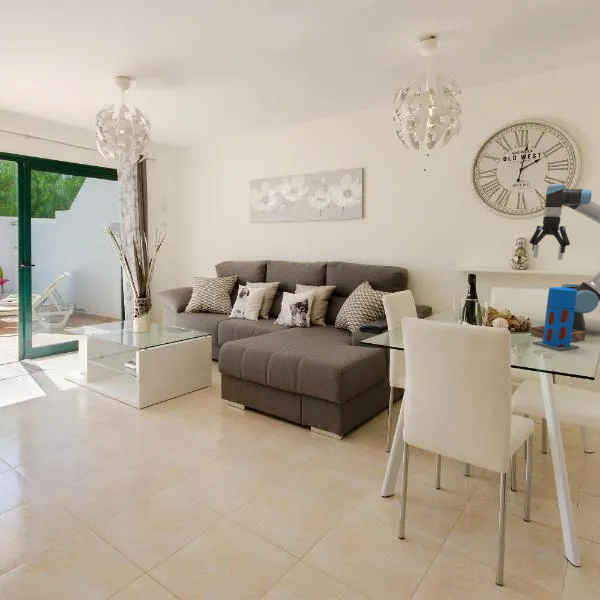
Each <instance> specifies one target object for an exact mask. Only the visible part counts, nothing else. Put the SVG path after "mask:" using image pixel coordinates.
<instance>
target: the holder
mask: <svg viewBox="0 0 600 600" xmlns="http://www.w3.org/2000/svg"><path fill="white" fill-rule="evenodd" d="M544 326H545V325H538V326H532V327H530V334H532V335H535V336H538V337H537V338H539V337H541V338H540V339H543V334H544ZM530 334H529V335H530ZM532 335H531V336H532ZM535 336H534V337H535ZM581 340H582V341H585V340H586V331H582V330H578V329H572V335H571V341H570V343H574V342H575V341H576V342H581ZM576 342H575V343H576Z"/></svg>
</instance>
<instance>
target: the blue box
mask: <svg viewBox="0 0 600 600" xmlns="http://www.w3.org/2000/svg"><path fill="white" fill-rule="evenodd" d="M576 297H577V290H576V289H571V288H562V287H561V286H560V287H559V286H556V287H555V286H551V287H549V289H548V295H547V301H546V302H547V303H546V309H545V310H546V311H545V318H544V325H543V326H544V334H543V338H542V341H543V343H544V344H546V345H549V346H554V347H569V346H570V344H571V342H570V341H571V335H572V327H573V320H574V312H575V305H576Z"/></svg>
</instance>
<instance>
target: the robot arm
mask: <svg viewBox="0 0 600 600" xmlns="http://www.w3.org/2000/svg"><path fill="white" fill-rule="evenodd" d="M544 204H545V205H544V212H543V215H544V216H543V219H542V224H543V225H537V226H536V230H535V231H534V233H533V235H532V236H531V238H530V240H529V243H528V244H532V248H531V249H532V250H531V251H533V252H532V258H534V259H535V258H536V259H537V258H538V256H539V255H538V254H539V246H540V245H539V243H540V242H541V241H542V240H543V239H544V238H545V237H546V236H554V238H555V239H556V240H557V243H558V244H559V245H560V246H558V250H557V251H558V252H557V260H559V261H563V257H564V254H565V252H566V247H567V246H570V245H571V244H570V239H569V237H568V234H567V231H566V226H565V225H564V226H563V225H560V224H561V215H562V211H563V210H562V209H563V207H567V208H569V209H572V210H574V211H576V212H577V213H579V214H581V215H582V216H585V217H586V218H588V219H590V220H592V221H594V222H595V223H598V224H599V225H600V204H598V203H596V202H594V201H592V190H591V189H590V188H565V184H562V183H561V184H560V183H559V184H557V183H554V184H549V185H548V186H547V188H546V194H545V202H544ZM560 287H562V288H571V289H576V290H577V297H576V305H575V312H574V320H573V327H572V329H574V330H579V331H581V330H586V321H585V317H584V314H588V313H592V312H593V311H595V310H596V309H597V308H598V306H599V303H600V271H598V272H597V273H596V274H595V275H594V276H593V277H592V278H591V279H590V280H588V281H582V283H581V284H574V283H573V284H572V283H563V284H561V285H560Z"/></svg>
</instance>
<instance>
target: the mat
mask: <svg viewBox="0 0 600 600" xmlns="http://www.w3.org/2000/svg"><path fill="white" fill-rule="evenodd" d="M532 344H533V345H536V344H537V345H536V346H539V345H540V347H543V346H544V347H543V348H547V347H548V348H547V349H550V348H551V349H550V350H554V349H555V351H557V352H564V350H565V351H569V350H570V351H571V350H576V349H580V346H578V345H575V344H571V343H570V346H569V347H554V346H549V345H546V344H544V343H543V340H539V341H538V340H537V341H533V342H532Z"/></svg>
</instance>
